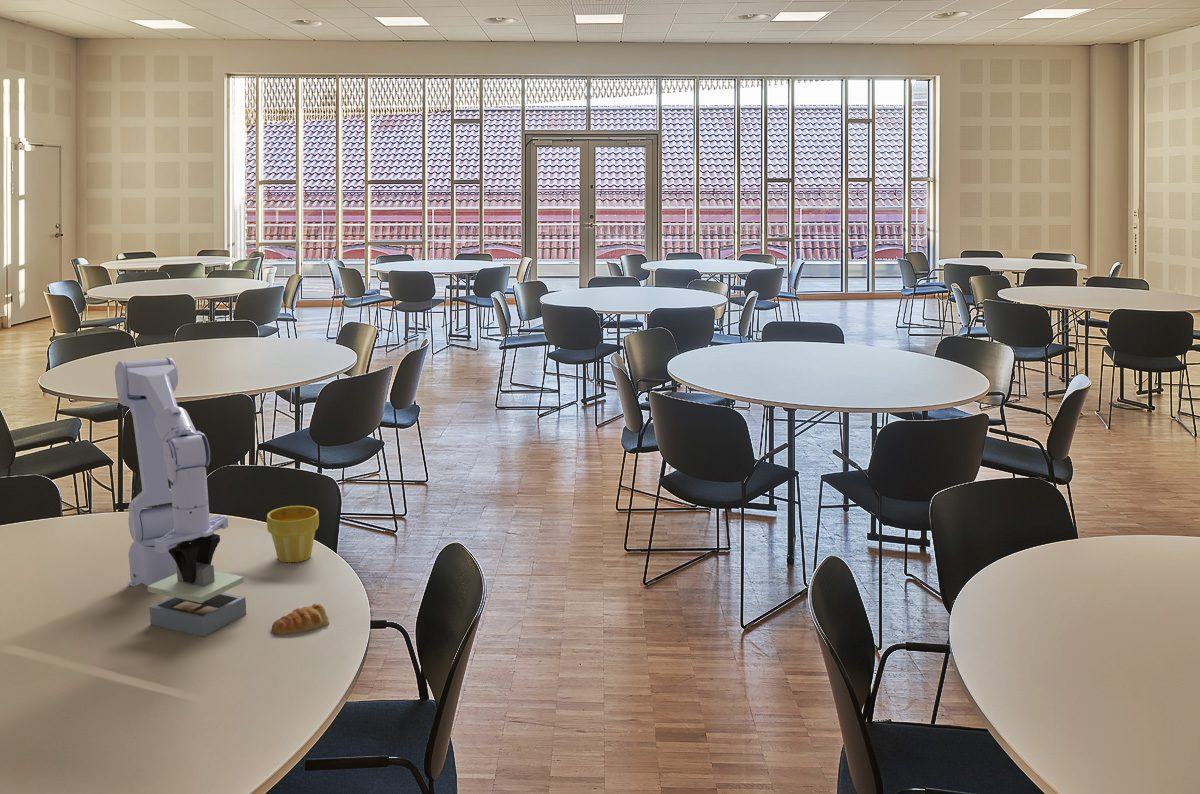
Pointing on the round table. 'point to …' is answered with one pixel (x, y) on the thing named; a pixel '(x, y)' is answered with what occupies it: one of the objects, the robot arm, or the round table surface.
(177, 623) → the box
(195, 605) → the brick
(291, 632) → the pastry
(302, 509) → the plant pot
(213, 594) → the lid
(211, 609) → the brick
